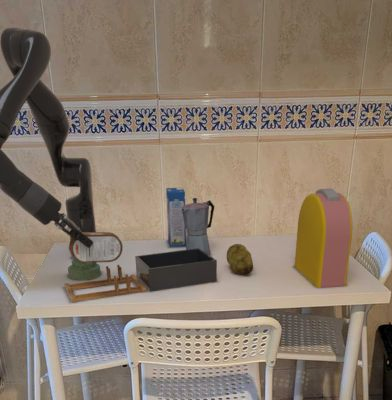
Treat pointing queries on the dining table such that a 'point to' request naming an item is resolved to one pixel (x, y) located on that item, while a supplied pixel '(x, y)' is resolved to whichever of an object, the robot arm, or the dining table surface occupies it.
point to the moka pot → (197, 224)
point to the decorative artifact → (83, 270)
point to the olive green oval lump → (239, 259)
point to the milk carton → (176, 217)
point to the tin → (97, 248)
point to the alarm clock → (324, 238)
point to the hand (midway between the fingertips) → (89, 243)
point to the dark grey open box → (176, 269)
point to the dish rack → (108, 281)
